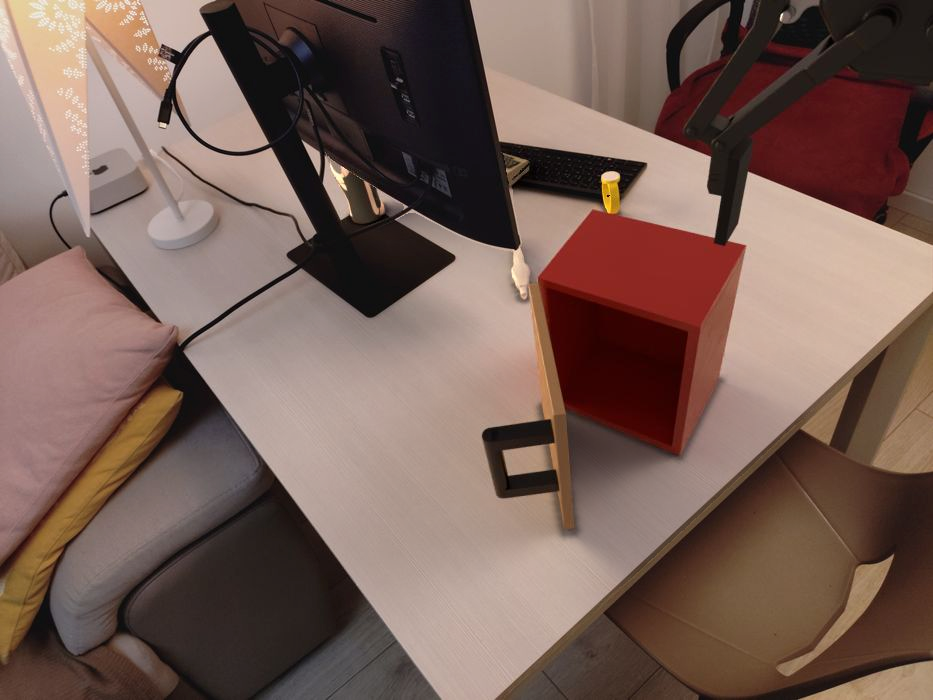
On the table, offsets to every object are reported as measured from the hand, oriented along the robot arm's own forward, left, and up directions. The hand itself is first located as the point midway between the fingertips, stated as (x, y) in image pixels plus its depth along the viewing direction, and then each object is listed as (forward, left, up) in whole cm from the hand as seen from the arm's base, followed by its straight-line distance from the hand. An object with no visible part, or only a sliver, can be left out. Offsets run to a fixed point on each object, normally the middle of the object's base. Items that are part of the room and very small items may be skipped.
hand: (833, 258), depth 40 cm
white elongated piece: (+40, -22, -32) cm, 56 cm away
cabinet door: (+22, +7, -31) cm, 39 cm away
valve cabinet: (+16, -8, -32) cm, 36 cm away
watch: (+34, -40, -32) cm, 61 cm away
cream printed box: (+60, -42, -32) cm, 80 cm away
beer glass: (+72, -24, -32) cm, 82 cm away
